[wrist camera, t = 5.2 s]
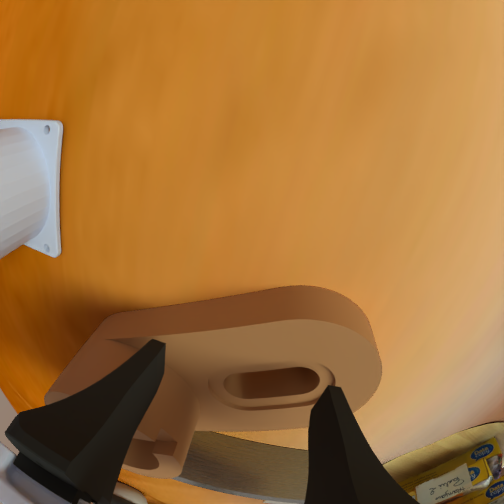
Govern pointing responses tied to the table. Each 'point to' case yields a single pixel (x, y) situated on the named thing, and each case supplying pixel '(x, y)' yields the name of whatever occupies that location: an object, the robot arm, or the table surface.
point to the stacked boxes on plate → (455, 468)
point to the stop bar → (246, 468)
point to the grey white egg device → (127, 495)
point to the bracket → (232, 366)
